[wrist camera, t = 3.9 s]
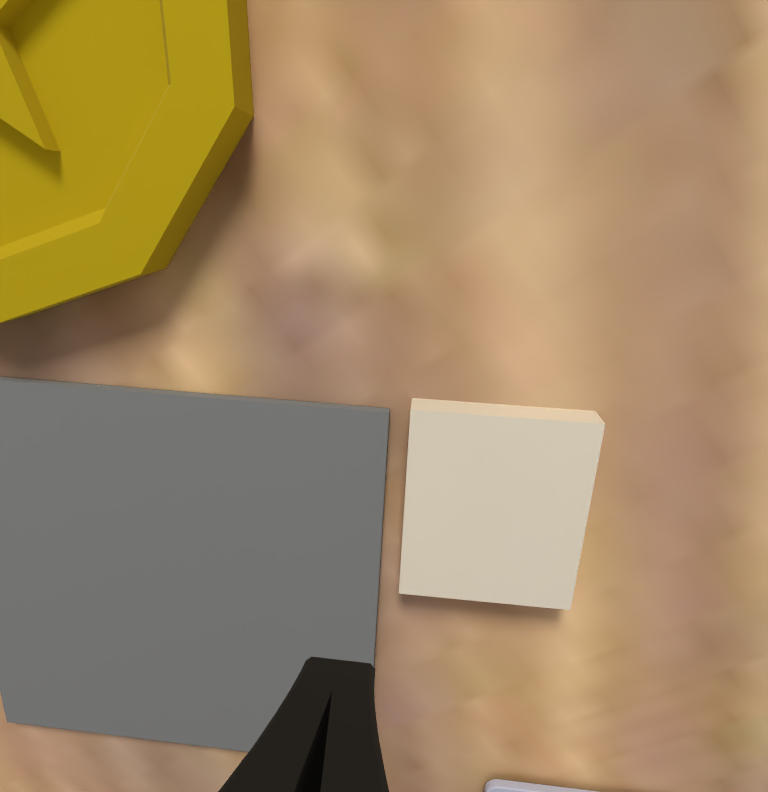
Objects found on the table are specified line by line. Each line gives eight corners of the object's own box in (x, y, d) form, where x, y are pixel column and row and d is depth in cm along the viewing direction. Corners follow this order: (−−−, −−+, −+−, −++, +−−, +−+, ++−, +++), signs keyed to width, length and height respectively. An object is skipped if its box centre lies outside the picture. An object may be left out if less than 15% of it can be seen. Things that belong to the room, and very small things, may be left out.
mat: (368, 757, 24) (367, 766, 24) (13, 714, 25) (7, 721, 25) (389, 408, 19) (389, 412, 19) (-59, 372, 20) (-69, 375, 20)
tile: (401, 566, 22) (560, 581, 21) (398, 593, 20) (570, 609, 20) (412, 393, 19) (591, 406, 19) (410, 409, 18) (605, 423, 17)
